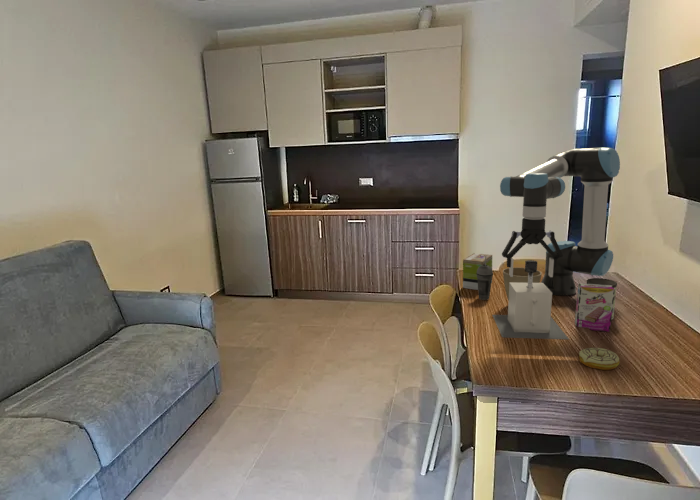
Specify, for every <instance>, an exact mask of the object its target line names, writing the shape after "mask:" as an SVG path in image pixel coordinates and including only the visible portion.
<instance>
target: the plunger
mask: <svg viewBox="0 0 700 500" xmlns="http://www.w3.org/2000/svg"><path fill="white" fill-rule="evenodd" d="M524 268H525V272H528V288H532V284H533V273H535V272H537V270H538V261H537V260H532V259H528V260H525V262H524Z"/></svg>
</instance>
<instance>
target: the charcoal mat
mask: <svg viewBox="0 0 700 500" xmlns="http://www.w3.org/2000/svg"><path fill="white" fill-rule="evenodd" d="M492 317H493V319H494V322H495V324H496V326H497V329H498V331H499V333H500V335H501V338H511V339H516V338H517V339H540V340H542V339H543V340H546V339H547V340H570V338H569V337H568V336H567V334H566V333H565V332H564V331H563V330H562V328H561V327H560V326H559V325H558V322H556V321H555V320H554V318H553V317H552V316H551V319H550V333H531V332H514V331H513V329H512V327H511V325H510V323H509V321H508V314H492Z"/></svg>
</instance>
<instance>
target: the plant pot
mask: <svg viewBox="0 0 700 500" xmlns="http://www.w3.org/2000/svg"><path fill="white" fill-rule="evenodd" d="M542 273H543V272H542V271H540V270H538V269H537V272H535V273H533V283H541V280H542V279H541V278H542ZM502 275H503V283H504V289H505V293H506V298H507V301H508V302H509V282H517V283H528V272H525V267H513V277H510V275H509V267H506V268H504V269H502Z"/></svg>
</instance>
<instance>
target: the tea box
mask: <svg viewBox="0 0 700 500" xmlns="http://www.w3.org/2000/svg"><path fill="white" fill-rule="evenodd" d="M485 256H486V265H488V266H490V267H491V268H492V269H493V254H483V253H475V252H473V253H472V254H470V255H469V256H467V257H465V258H464V259H463V260H462V288H463V289H469V290H475V291H478V280H477V274H476V273H477V269H478V268H479V267H480V266H481V265H485ZM492 283H493V280H492V281H491V284H492Z"/></svg>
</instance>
